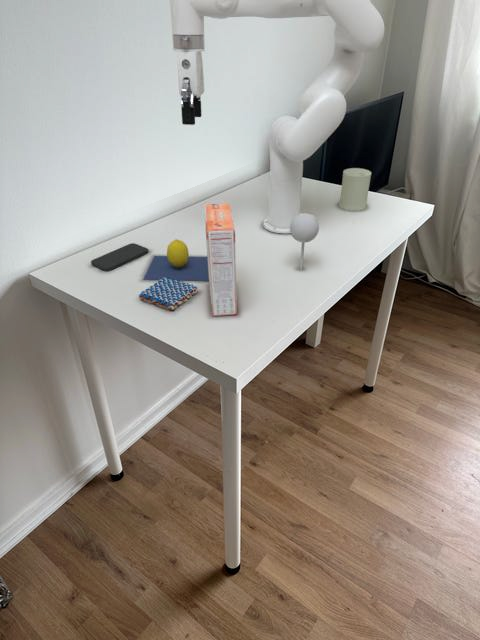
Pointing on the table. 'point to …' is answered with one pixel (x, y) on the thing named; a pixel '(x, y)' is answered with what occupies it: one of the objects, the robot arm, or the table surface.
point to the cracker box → (221, 259)
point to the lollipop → (304, 230)
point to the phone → (119, 256)
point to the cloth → (178, 269)
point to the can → (355, 189)
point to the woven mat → (168, 293)
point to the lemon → (177, 253)
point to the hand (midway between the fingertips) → (192, 120)
